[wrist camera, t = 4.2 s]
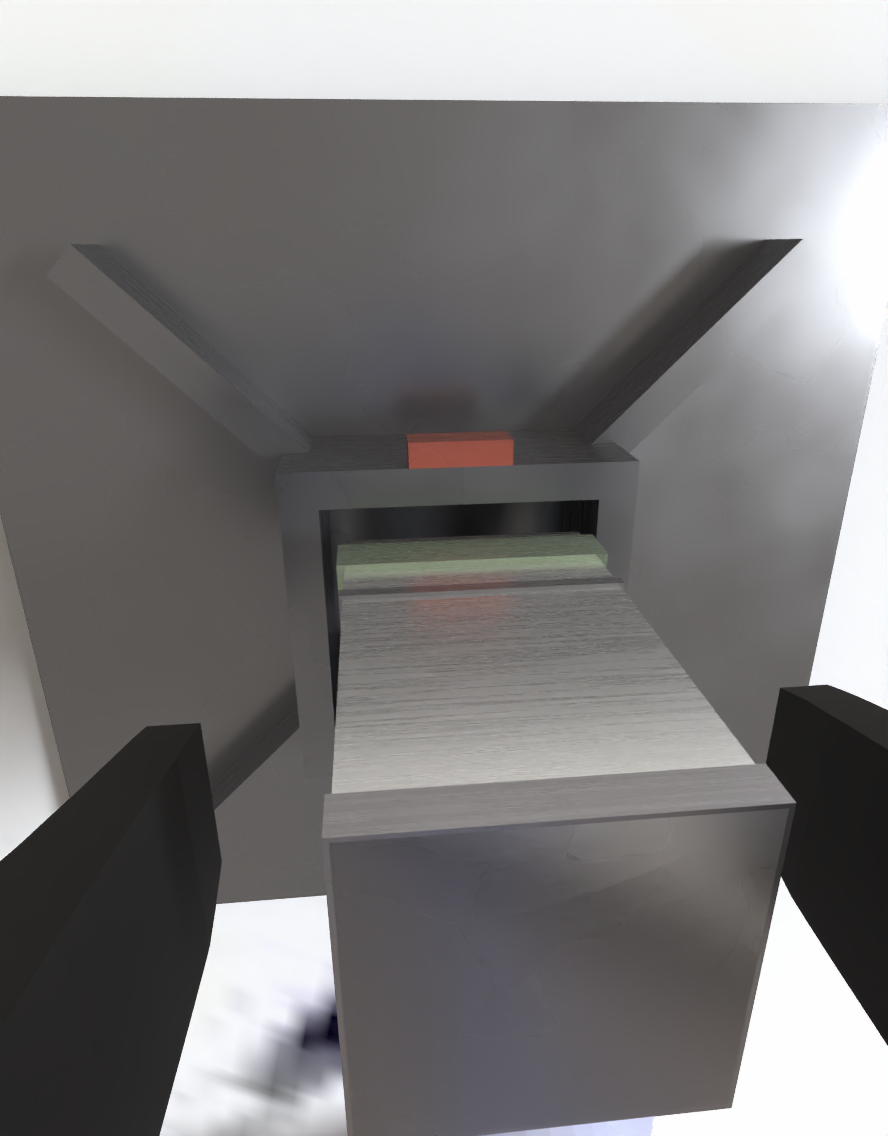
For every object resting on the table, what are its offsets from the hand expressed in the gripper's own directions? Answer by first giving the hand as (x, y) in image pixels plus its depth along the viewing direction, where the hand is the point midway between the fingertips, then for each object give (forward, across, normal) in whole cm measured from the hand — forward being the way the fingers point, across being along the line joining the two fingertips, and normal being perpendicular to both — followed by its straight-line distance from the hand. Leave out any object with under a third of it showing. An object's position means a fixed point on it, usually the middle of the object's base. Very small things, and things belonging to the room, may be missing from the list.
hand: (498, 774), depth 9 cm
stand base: (+7, 0, 0) cm, 7 cm away
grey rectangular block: (+4, 0, 0) cm, 4 cm away
